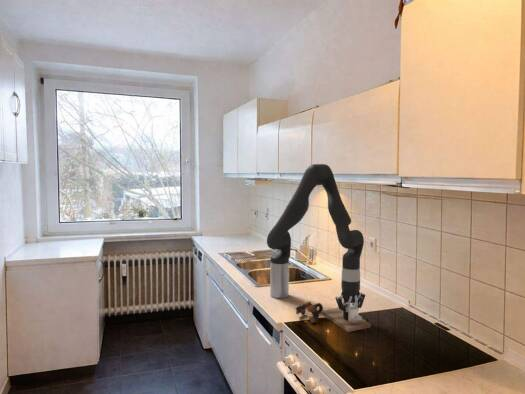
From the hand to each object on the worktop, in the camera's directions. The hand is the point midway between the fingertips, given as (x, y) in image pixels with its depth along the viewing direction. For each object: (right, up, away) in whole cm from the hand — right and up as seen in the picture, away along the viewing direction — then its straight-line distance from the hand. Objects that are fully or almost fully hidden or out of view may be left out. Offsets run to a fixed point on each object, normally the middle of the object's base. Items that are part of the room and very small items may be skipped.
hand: (350, 318), depth 157 cm
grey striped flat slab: (-2, -1, +3) cm, 4 cm away
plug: (0, 0, -1) cm, 1 cm away
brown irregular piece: (-16, -2, +5) cm, 17 cm away
